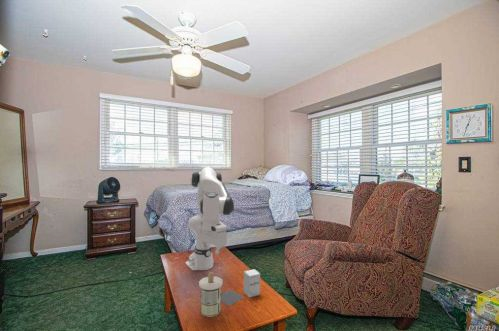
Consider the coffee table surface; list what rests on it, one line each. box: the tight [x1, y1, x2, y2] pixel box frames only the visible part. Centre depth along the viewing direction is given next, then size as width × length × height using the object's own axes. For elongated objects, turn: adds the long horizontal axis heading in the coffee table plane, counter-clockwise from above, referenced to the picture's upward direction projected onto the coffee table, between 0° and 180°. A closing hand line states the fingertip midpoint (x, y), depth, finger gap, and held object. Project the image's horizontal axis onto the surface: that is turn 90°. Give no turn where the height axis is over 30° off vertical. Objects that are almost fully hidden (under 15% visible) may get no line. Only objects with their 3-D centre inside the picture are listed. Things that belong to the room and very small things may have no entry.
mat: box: [221, 289, 245, 307], centre depth 135 cm, size 12×12×1 cm
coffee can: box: [200, 286, 222, 318], centre depth 123 cm, size 10×10×14 cm
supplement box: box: [243, 268, 261, 298], centre depth 140 cm, size 7×7×13 cm
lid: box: [198, 271, 224, 290], centre depth 123 cm, size 12×12×6 cm
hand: (211, 251), depth 123 cm, fingers open, 8 cm apart
